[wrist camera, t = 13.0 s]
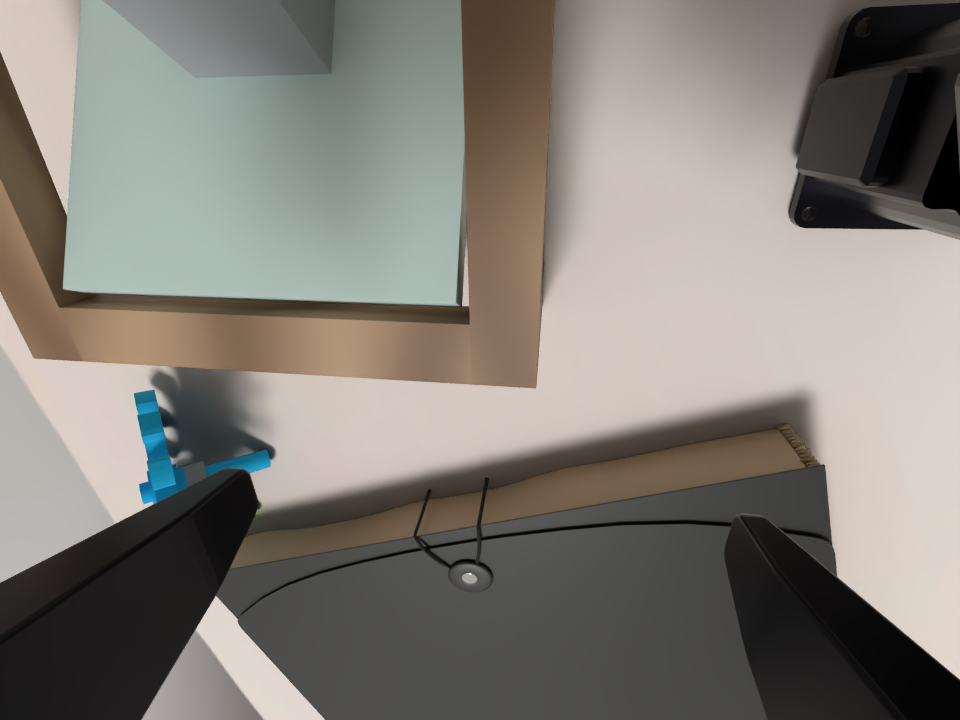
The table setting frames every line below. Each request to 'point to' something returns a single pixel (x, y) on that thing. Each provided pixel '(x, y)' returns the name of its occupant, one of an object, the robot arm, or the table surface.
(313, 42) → the stone block
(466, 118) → the frame
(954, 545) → the table surface
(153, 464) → the gear
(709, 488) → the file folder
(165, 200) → the trapdoor
